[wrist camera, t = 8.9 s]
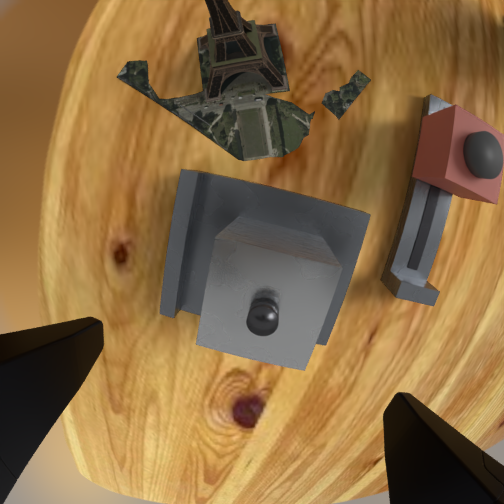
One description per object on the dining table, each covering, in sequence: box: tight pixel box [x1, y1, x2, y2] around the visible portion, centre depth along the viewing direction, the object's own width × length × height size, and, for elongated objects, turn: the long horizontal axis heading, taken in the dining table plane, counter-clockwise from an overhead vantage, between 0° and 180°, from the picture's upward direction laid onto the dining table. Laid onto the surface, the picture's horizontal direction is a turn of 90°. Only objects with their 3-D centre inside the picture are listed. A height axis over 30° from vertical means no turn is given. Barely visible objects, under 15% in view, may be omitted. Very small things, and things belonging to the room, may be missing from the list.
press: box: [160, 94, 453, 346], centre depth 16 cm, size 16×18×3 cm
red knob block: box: [412, 105, 504, 204], centre depth 12 cm, size 4×4×5 cm
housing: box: [196, 216, 343, 371], centre depth 14 cm, size 5×5×7 cm
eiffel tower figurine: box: [117, 0, 371, 161], centre depth 10 cm, size 15×10×13 cm
